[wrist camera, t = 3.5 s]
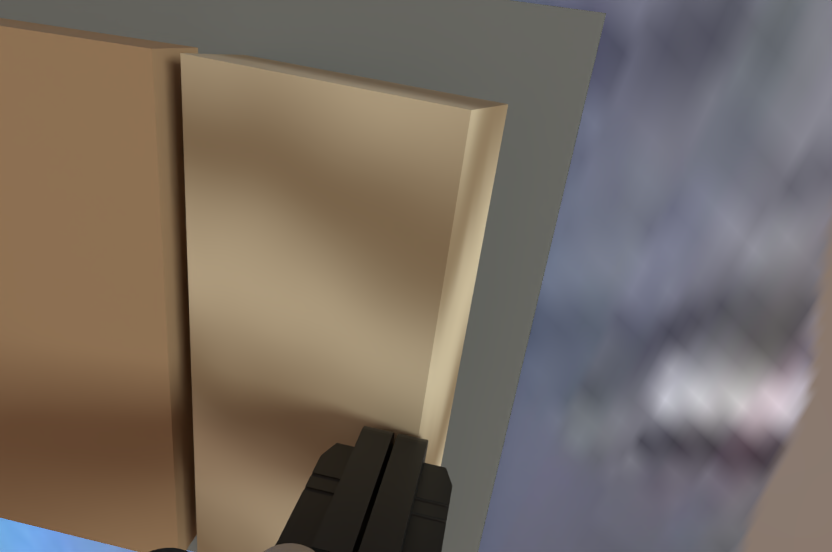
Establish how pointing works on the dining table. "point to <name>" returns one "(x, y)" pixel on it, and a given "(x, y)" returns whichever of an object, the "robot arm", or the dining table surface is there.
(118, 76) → the floor section
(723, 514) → the dining table surface
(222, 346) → the oak plank
